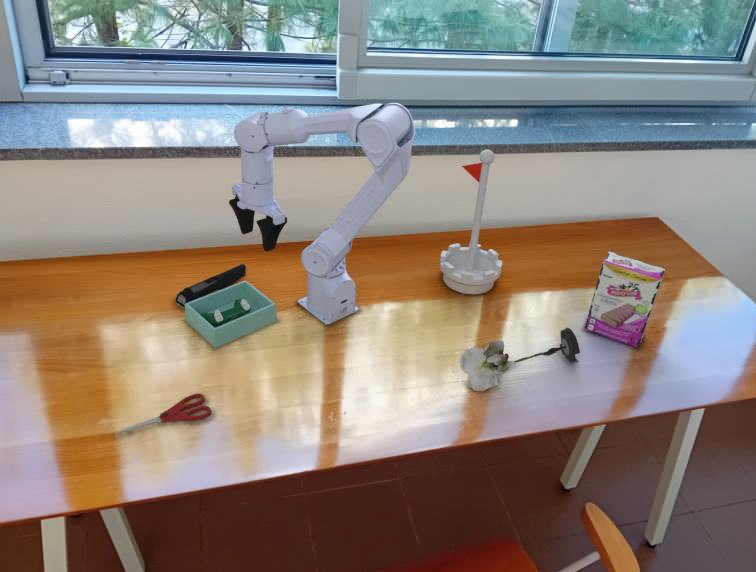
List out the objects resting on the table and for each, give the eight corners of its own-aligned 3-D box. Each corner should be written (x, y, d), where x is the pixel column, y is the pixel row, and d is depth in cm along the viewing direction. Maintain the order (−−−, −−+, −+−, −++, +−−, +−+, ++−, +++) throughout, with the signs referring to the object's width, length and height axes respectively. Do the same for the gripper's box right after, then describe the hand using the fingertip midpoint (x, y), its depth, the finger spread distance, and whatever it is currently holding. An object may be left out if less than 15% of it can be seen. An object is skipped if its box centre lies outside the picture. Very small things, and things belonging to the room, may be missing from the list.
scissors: (213, 416, 116) (212, 411, 115) (121, 446, 109) (120, 442, 108) (201, 395, 119) (201, 390, 119) (112, 423, 112) (111, 418, 112)
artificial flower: (582, 378, 134) (595, 348, 127) (467, 405, 129) (473, 375, 122) (563, 339, 140) (574, 308, 132) (451, 364, 135) (457, 332, 127)
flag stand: (509, 277, 159) (533, 150, 143) (480, 304, 149) (502, 170, 133) (457, 256, 164) (475, 131, 148) (426, 281, 155) (441, 149, 139)
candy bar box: (583, 331, 145) (601, 261, 136) (589, 318, 149) (607, 249, 140) (639, 350, 141) (661, 279, 133) (644, 336, 145) (666, 267, 137)
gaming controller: (203, 335, 134) (214, 329, 130) (194, 317, 134) (205, 309, 130) (246, 317, 140) (258, 310, 136) (238, 299, 140) (250, 291, 136)
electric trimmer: (251, 280, 149) (250, 267, 147) (186, 310, 138) (185, 296, 136) (238, 272, 151) (238, 259, 149) (174, 302, 140) (173, 288, 138)
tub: (276, 321, 138) (276, 304, 136) (215, 348, 130) (213, 330, 128) (246, 297, 144) (245, 280, 142) (186, 321, 135) (184, 303, 133)
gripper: (216, 167, 136) (219, 230, 143) (261, 199, 128) (262, 264, 135) (249, 159, 141) (250, 220, 148) (294, 189, 133) (293, 252, 140)
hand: (258, 240), depth 142 cm, fingers open, 7 cm apart
